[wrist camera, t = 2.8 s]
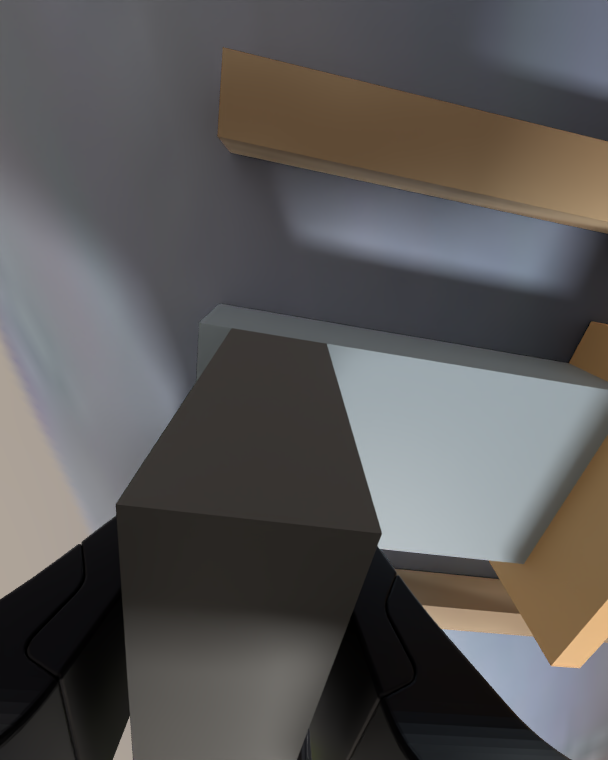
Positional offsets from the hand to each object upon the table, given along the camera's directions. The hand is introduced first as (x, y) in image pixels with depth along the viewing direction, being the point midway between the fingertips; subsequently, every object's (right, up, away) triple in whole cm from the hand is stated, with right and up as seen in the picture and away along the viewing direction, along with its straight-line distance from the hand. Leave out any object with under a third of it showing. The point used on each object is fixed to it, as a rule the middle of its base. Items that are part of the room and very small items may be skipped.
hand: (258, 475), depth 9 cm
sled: (+4, +1, +4) cm, 6 cm away
